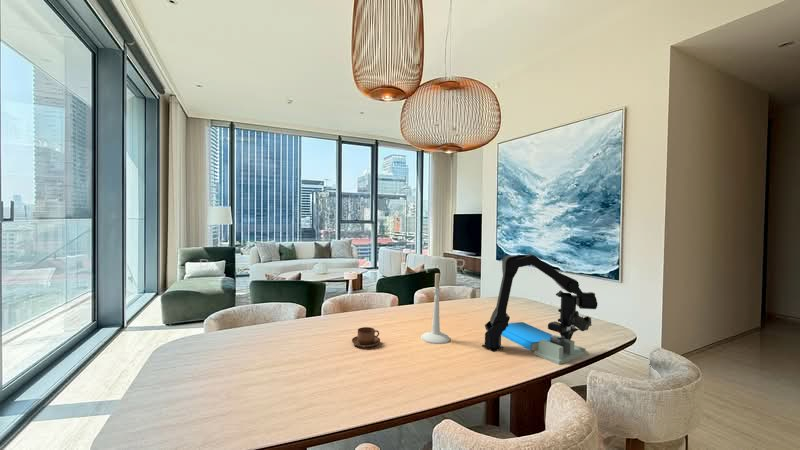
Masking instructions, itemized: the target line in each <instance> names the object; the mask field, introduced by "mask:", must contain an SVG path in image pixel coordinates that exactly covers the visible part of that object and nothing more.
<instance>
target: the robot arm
mask: <svg viewBox="0 0 800 450" xmlns="http://www.w3.org/2000/svg"><path fill="white" fill-rule="evenodd" d="M501 262H502V263H501V264H502V265H501V267H502V268H501V269H502V271H501V272H502V278H501V282H500V283H501V284H500V287H499V292H498V297H497V300H496V301H497V302H496V307H495V308H494V310H493V312H492V313H491V316H490V319H489V320H488V322H487V323H485V324H484V327H485V330H486V331H485V333H484V344H481V347H482V348H485V349H487V350H490V351H491V352H495V351H499V350H503V349H504V347H503V346H502V343H501V342H502V335H501V334H502V332H503V331H505V330H506V327H508V323H509V321H510V315H508V313H507V308H508V304H509V299H510V295H511V289H512V286H513V280H514V278H515V276H516V274H517V273H518V271H519V268H523V267H526V266H531V265H532V266H533V267H534V268H536V269H538V270H539V271H540V272H542V273H543V274H545V275H546V276H547V277H549V278H551V279H552V280H553V281H554V283H556V285H558V286H559V287H560V288H561V289H562V290H559V291H558V292H557V293H555V295H556V297H558V298H560V308H558V313H560V314H559V318H558V319H557V321H551V322H549V323H548V324H547V330H550V331H553V332H556V333H559V335H560V337H561V336H565V338H566V339H569V340H571V339H572V337H573V334H574V333H575V332H577V331H580V332H585V331H588V330H589V328H590V327H592V318H591V316H588V315H587V316H585V317H584V316H580V313H579V311H578V310H577V307H578V308H579V309H580V310H581V309H583V310H584V309H585V310H596V309H597V308H598V300H597V299H598V298H596V293H595V292H591V291H589V292H583V291H582V289H581V288H580V284H579V282H578V281H577V280H576V279H574V278H572V277H570V276H568V275H565V274H564V273H562V272H559V271H557V270H556V269H555V268H553V267H552V266H550V265H549V264H548V263H546V262H544V261H543V260H541V259H540V258H538V257H537V255H535V254H532V253H528V254H524V255H523V254H522V255H510V254H509V255H508V254H507V255H505V256H504V257H503V259H502V261H501ZM563 291H564V292H563ZM565 291H566V292H565Z"/></svg>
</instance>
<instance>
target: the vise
mask: <svg viewBox="0 0 800 450" xmlns="http://www.w3.org/2000/svg"><path fill="white" fill-rule="evenodd" d="M563 350H564V347H562V346H560V345H557V344H554V343H551V342H549V341H546V340H543V339H542V340H539V350H533V354H534V355H536V356H537V357H541V358H542V359H545V360H547V361H549V362H552V363H555V364H557V365H561V364H563V363H566V362H570V361H573V360H577V359H579V358H582V357H584V356H587V355H588V354H589V351H588V350H587V349H586V347H582V346H579V345H576V344H574V354H572V355H569V354H567V353H564V352H563Z"/></svg>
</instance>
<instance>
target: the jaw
mask: <svg viewBox="0 0 800 450" xmlns="http://www.w3.org/2000/svg"><path fill="white" fill-rule="evenodd" d="M552 335H553V336H557V337H560V338H563V339H564V351H563V352H564V353H567V354H569V355H572V354H574V345H575V341H574V340H569V339H566V338H565V336H561V335H560V336H559V335H556V334H552ZM551 337H552V336H551Z"/></svg>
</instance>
